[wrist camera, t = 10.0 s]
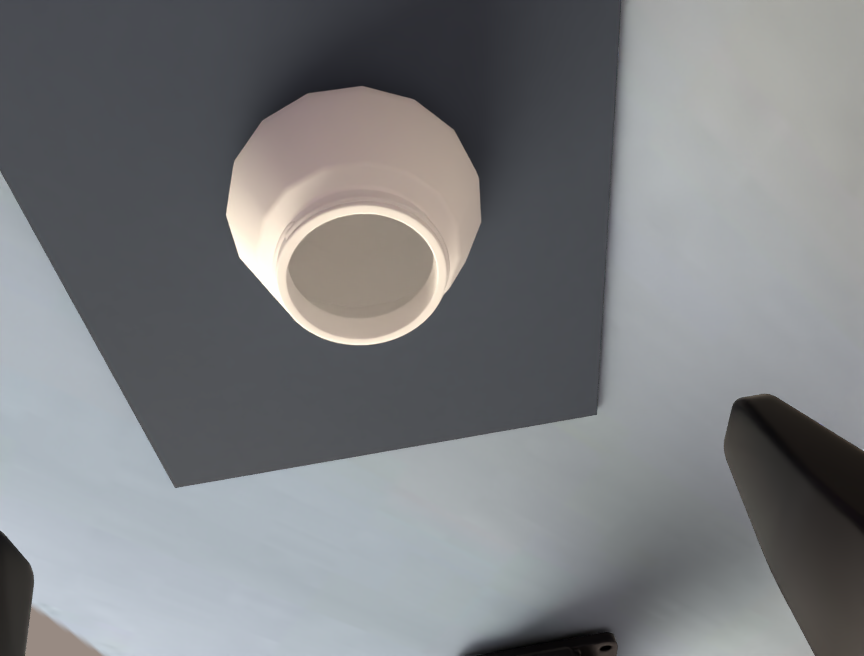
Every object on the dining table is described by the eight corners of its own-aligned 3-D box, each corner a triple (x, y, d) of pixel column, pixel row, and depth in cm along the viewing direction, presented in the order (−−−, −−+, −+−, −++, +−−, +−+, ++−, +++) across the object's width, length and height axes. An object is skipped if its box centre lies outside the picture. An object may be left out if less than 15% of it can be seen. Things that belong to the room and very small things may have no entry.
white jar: (521, 176, 15) (324, 23, 12) (559, 250, 13) (326, 82, 10) (378, 329, 17) (186, 224, 14) (389, 417, 15) (161, 310, 12)
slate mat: (595, 411, 20) (596, 415, 20) (175, 484, 20) (175, 487, 19) (640, -377, 10) (643, -378, 10) (-230, -257, 9) (-236, -256, 9)
